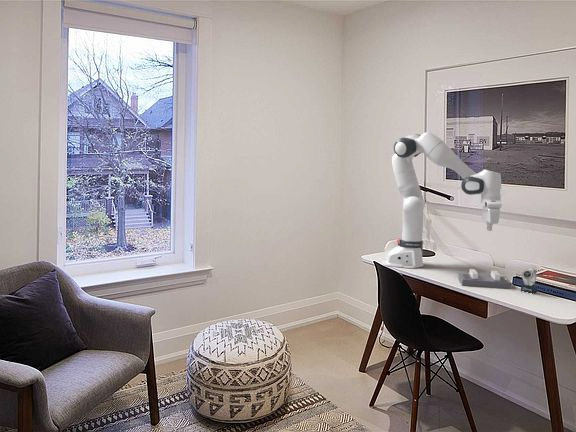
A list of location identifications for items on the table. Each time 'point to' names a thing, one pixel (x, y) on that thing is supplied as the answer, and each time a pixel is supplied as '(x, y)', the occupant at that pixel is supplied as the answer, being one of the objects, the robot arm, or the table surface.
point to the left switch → (473, 274)
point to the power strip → (484, 281)
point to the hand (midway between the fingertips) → (489, 230)
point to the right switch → (495, 275)
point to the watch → (529, 281)
